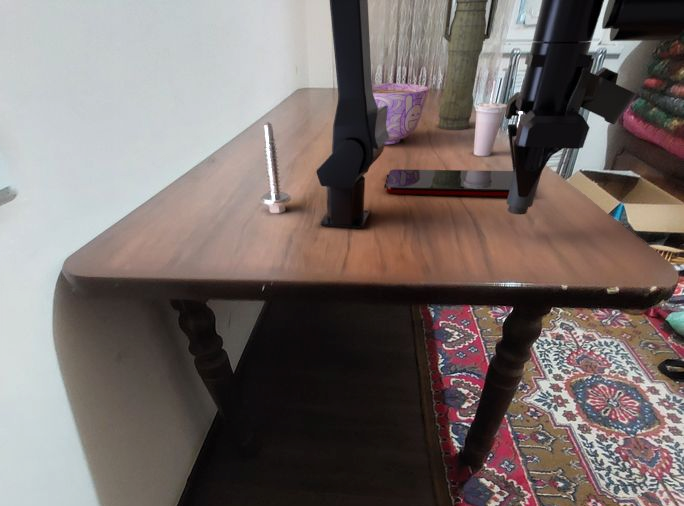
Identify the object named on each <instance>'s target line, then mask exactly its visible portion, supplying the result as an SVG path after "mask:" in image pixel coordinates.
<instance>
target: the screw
mask: <svg viewBox="0 0 684 506" xmlns="http://www.w3.org/2000/svg"><path fill="white" fill-rule="evenodd" d="M263 135H264V143H263V144H264V147H263V148H264V149H265V151H264V152H265V155H264V156H265V158H266V159H265V161H266V164H265V165H266V166H267V167H266V169H267V172H266V173H267V174H268V175H267V177H268V179H267V181H268V182H269V183H268V185H269V187H268V189H269V191H268V192H267V193H264V194H263V195H262V197H260V202H261V203H262V204H264V205H267V206H268V211H269V212H270V213H271V214H281V213H284V212H286V204H288V203H289V202H291V201H292V197H291V195H290V194H289V193H288V192H284V191H281V190H282V188H281V184H280V182H281V180H280V176H279V175H280V172H279V171H280V169H279V164H278V162H279V160H278V158H279V157H278V156H277V155H278V152H277V150H278V148H277V147H276V146H277V143H276V139H275V137H274V135H275V134H274V129H273V124H272V123H271V122H269V121H266V123H264V125H263Z"/></svg>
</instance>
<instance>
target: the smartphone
mask: <svg viewBox="0 0 684 506" xmlns="http://www.w3.org/2000/svg"><path fill="white" fill-rule="evenodd" d="M513 175H514V173H513V170H477V169H476V170H474V169H473V170H472V169H470V170H469V169H465V170H464V169H401V168H399V169H397V168H396V169H395V168H394V169H390V170H389V172H388V174H386V178H385V183H384V189H385V192H386V193H387V194H390V195H391V194H392V195H432V196H433V195H435V196H473V197H475V196H477V197H508V195H509V191H510V187H511V183H512V179H513Z"/></svg>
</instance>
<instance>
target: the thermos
mask: <svg viewBox="0 0 684 506" xmlns="http://www.w3.org/2000/svg"><path fill="white" fill-rule="evenodd" d="M497 1H498V0H491V1H490V6H489V11H488V12H489V13H488V18H487V19H486V14H487V10H486V9H487V3H488V2H489V0H455V4H456V6H455V10H454V13H453V14H454V15H453V19H452V21H451V16H452V10H453V9H452V8H453V2H454V1H453V0H446V9H445V10H446V11H445V18H444V27H443V35H442V36H443V38H444V39H445V40H446V41H447V42H448V43H447V55H448V57H447V65H446V73H445V81H444V88H443V93H442V96H441V98H440V103H439V104H440V105H439V113H438V118H439V119H438V125H437V127H438V128H439V129H444V130H455V131H458V130H466V129H468V128H469V127H470V120H471V117H472V113H473V108H474V107H473V106H474V90H475V84H476V77H477V71H478V66H479V59H480V55H481V53H482V51H483V46H484V42H485V41H486V40H488V39H489V40H490V37H491V34H492V29H493V25H494V20H495V14H496V7H497Z"/></svg>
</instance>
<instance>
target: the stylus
mask: <svg viewBox="0 0 684 506" xmlns="http://www.w3.org/2000/svg"><path fill="white" fill-rule="evenodd" d="M542 173H543V171H542V172H541V174H540V176H539V177H538V179H537V181H536V183H535V184H534V186H533V188H532V190H531V191H530V193H529V195H528V196H527V197H519V196H518V190H517V181H516V172H515V171H514V175H513V179H512V183H511V187H510V191H509V195H508V196H507V199H506V204H507V205H508V208H507V211H508V213H510V214H513V215H525V214H527V213H528V209H529V208H531V207H532V206H533V204H534V201H535V197H536V193H537V190H538V187H539V183H540V180H541V176H542Z"/></svg>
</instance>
